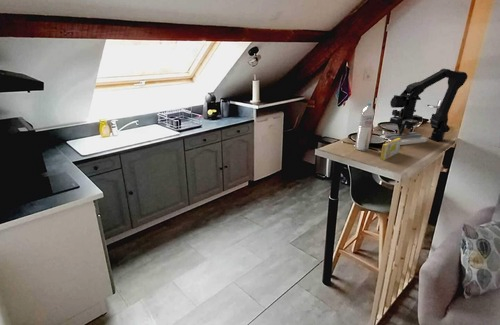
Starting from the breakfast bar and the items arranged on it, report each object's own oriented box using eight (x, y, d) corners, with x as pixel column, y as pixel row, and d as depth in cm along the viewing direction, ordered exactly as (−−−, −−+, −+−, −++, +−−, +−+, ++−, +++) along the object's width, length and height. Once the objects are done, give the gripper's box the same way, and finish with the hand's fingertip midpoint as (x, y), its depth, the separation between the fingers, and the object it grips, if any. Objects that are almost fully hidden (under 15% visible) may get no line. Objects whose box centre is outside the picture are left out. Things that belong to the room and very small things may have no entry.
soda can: (371, 145, 165) (375, 124, 160) (358, 144, 166) (362, 124, 161) (369, 141, 171) (373, 121, 166) (356, 140, 172) (360, 120, 168)
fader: (401, 135, 175) (403, 126, 173) (408, 137, 171) (410, 129, 168) (396, 135, 174) (398, 127, 172) (402, 138, 169) (404, 129, 167)
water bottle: (367, 147, 161) (376, 102, 151) (368, 152, 155) (376, 105, 145) (354, 146, 163) (362, 101, 153) (354, 150, 157) (362, 104, 147)
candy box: (394, 152, 156) (398, 137, 153) (398, 153, 155) (402, 138, 151) (379, 159, 147) (382, 143, 143) (383, 160, 145) (386, 145, 142)
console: (410, 135, 182) (411, 130, 180) (426, 141, 172) (428, 136, 170) (378, 139, 175) (380, 133, 174) (393, 145, 165) (394, 139, 163)
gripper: (411, 103, 175) (405, 128, 181) (385, 105, 169) (380, 131, 176) (426, 107, 165) (419, 133, 171) (400, 109, 160) (394, 136, 166)
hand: (403, 133), depth 171 cm, fingers closed on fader, 4 cm apart
